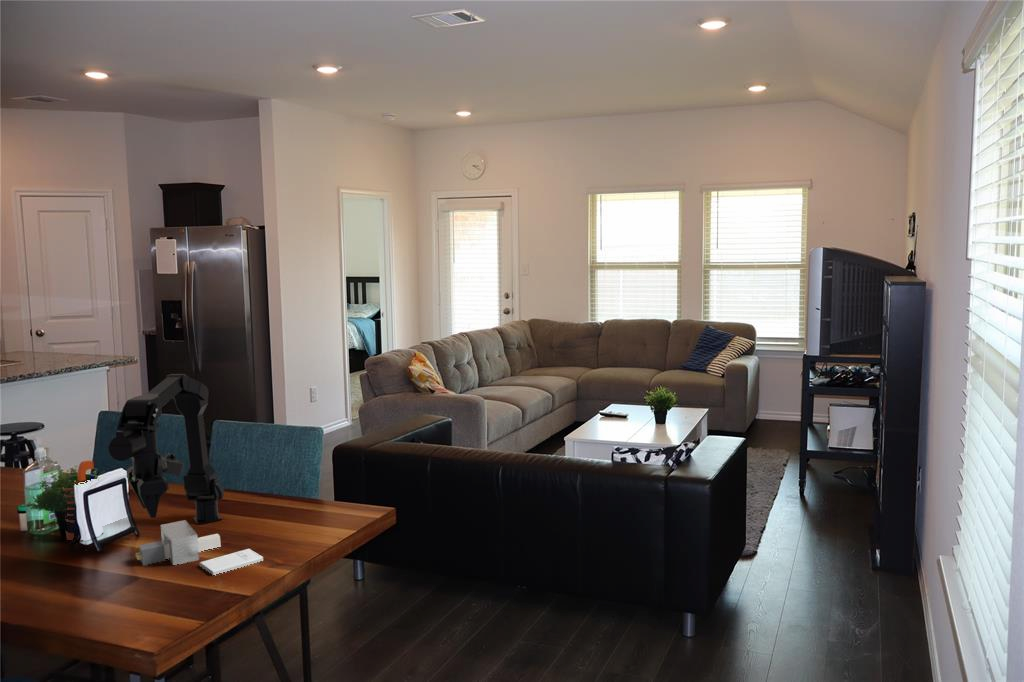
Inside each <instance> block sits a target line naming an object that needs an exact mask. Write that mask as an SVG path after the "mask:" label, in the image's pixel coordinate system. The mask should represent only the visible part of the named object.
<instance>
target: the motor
mask: <svg viewBox="0 0 1024 682" xmlns="http://www.w3.org/2000/svg"><path fill="white" fill-rule="evenodd" d="M94 466H95V465H94V460H93V461H92V460H83V461H81V462H80V463H79V465H78V469H77V474H75V475H74V474H73V475H70V476H69V475H68V476H66V477H63V478H61V479H62V480H63V479H65V478H74V479H75V480H76V482H75V484H76V485H78V483H79V482H85V481H86V482H85V483H87V482H88V481H87V480H90V481H91V479H97V478H98V479H99V476H98V475H97V474H93V473H87V471H89V470H93V469H94ZM94 470H95V469H94ZM80 484H84V483H80ZM73 485H74V484H73ZM61 488H62V489H63V490H62V491H63V492H64V491H74V488H64V487H62V486H61ZM64 496H65V497H68V498H72V497H74V495H67V494H64ZM64 496H63V497H64ZM65 497H64V498H65ZM67 504H75V501H67ZM67 510H75V507H67ZM73 515H74V514H70V513H69V514H68V513H67V516H73ZM67 516H66V517H67ZM65 521H66V522H70V523H75V522H74V521H75V520H69V519H66V518H65ZM65 535H66V541H68V540H73V538H74V533H69V532H67V531H66V530H65Z"/></svg>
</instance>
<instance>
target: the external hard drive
mask: <svg viewBox="0 0 1024 682" xmlns="http://www.w3.org/2000/svg"><path fill="white" fill-rule="evenodd" d="M260 561H262V562H263V561H264V556H262V555H260V554H259V553H257V552H255V551H254V550H252V549H251V548H245V549H242V550H239V551H235V552H232V553H229V554H225V555H221V556H217V557H214V558H211V559H207V560H203V561H200V562H199V567H200V568H201V567H202V568H201V569H203V570H204V569H205V570H206V571H205V570H204V571H205V572H207V571H208V572H209V574H210V573H211V574H212V575H211V574H210V575H211V576H213V575H215V576H217V575H216V574H219V573H222V574H224V573H223V572H225V573H228V572H227V571H229V572H231V571H230V570H232V571H234V569H235V570H238V569H237V568H239V569H242V568H245V567H248V566H251V565H250V564H252V565H254V563H255V564H258V563H261V562H260ZM257 562H258V563H257ZM247 565H248V566H247ZM244 566H245V567H244ZM241 567H242V568H241ZM208 572H207V573H208ZM219 575H220V574H219Z"/></svg>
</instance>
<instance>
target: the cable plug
mask: <svg viewBox="0 0 1024 682" xmlns="http://www.w3.org/2000/svg"><path fill="white" fill-rule="evenodd" d="M217 547H222V545H221V536H220V534H219V533H214V534H209V535H204V536H201V537H198V550H199V553H202V552H201V551H203V552H205V551H204V550H208V549H212V550H214V549H213V548H217ZM138 549H139V551H138V552H135V558H136V560H137V561H140V563H141V564H142V566H143V567H146V566H149V565H148V564H150V565H153V564H152V563H155V564H157V563H156V562H159V563H162V562H161V561H164V562H166V560H165V559H168V560H170V559H169V558H170V551H169V544H167V545H163V544H162V540H159V541H158V540H157V541H152V542H149V543H144V544H140V545H138ZM217 549H218V548H217ZM208 551H209V550H208ZM145 565H146V566H145Z"/></svg>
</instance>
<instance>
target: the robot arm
mask: <svg viewBox="0 0 1024 682" xmlns="http://www.w3.org/2000/svg"><path fill="white" fill-rule="evenodd" d="M209 396H210V395H209V388H208V387H207V385H205V384H204V383H202V382H201V381H199V380H196V379H194V378H191V377H190V376H189V375H187V374H185V373H170V374H168V375H166V376H165V378H164V379H163V380H162V381H160V383H158V384H157V385H156V386H154V387H153V388H152V389H151V390H149V391H148V392H146V394H142V395H137V396H134V397H132V398H129V399H127V400H126V402H125V403H124V405H123V407H122V411H121V415H120V417H119V421H118V423H117V428H116V431H115V437H114V438H112V439H111V441H110V442H109V445H108V452H109V455H110V456H111V457H112V458H113V459H114V460H116V461H118V462H119V461H120V462H123V461H127V460H129V459H130V460H132V466H129V467H128V468H127V470H126V478H127V480H128V483H129V485H130V486H131V489H132V490H133V492H134V493H135V495H136V497H137V500H138V501H139V502H140V505H141V507H142V508H143V510H144V509H146V511H147V513H148V515H149V517H150V519H154V518H156V517H157V513H158V508H159V504H160V498H161V497H162V496H163V495H164V494H166V493H167V491H168V490H170V489H169V488H170V487H169V481H168V480H167V479H166V478H165V477H164V476H163V475H164V474H170V475H175V476H177V477H181V476H182V473H183V470H184V467H185V462H184V461H182V460H180V459H178V458H176V454H174V453H170V452H167V453H166V454H165V456H162V455H161V454H160V453H159V451H158V438H157V437H158V436H157V429H159V428H160V426H161V425H160V424H159V423H158V422H157V421H158V419H159V418H160V416H161V415H162V414H163V411H162V408H163V407H164V406H165V405H167V404H168V403H169V402H170V401H171V400H174V404H175V406H176V407H175V408H176V409H177V410H178V411H179V413H180V414H181V416H183V419H184V428H185V435H186V444H187V445H186V446H187V453H188V463H189V468H188V470H187V472H186V474H184V476H183V477H182V478H183V483H184V484H183V488H184V493H185V495H186V496H185V497H186V498H187V499H186V500H187V502H188V501H189V502H190V501H194V502H195V503H194V504H195V516H192V520H193V521H194V522H195V523H196V524H197V525H203V524H207V523H214V522H217V520H218V521H222V520H223V518H222V517H221V515H220V514H219V510H218V509H219V508H218V500H221V499H224V495H225V487H224V486H223V485H222V483H221V482H220V480H218V478H217V476H218V475H217V472H216V470H215V469H214V468H213V467H212V465H211V464H210V463H209V457H208V446H207V438H206V430H205V420H204V419H205V418H204V412H205V410H206V408H207V406H208V405H209ZM221 519H222V520H221Z"/></svg>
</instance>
